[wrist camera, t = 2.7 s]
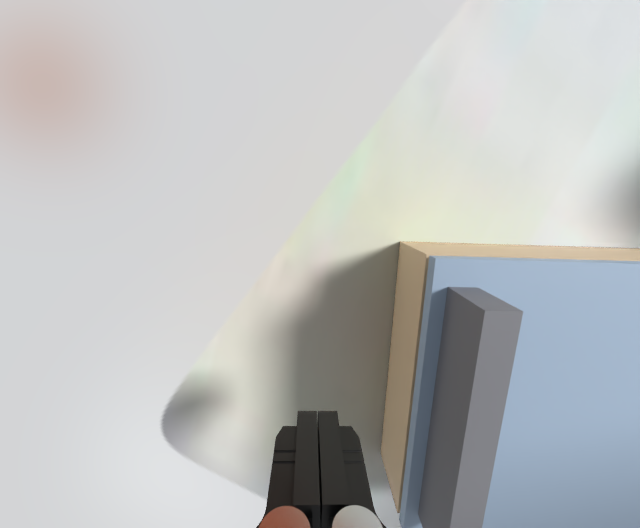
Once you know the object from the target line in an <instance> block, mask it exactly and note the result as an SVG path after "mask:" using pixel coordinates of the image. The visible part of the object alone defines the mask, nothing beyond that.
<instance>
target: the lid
mask: <svg viewBox="0 0 640 528" xmlns="http://www.w3.org/2000/svg"><path fill="white" fill-rule="evenodd" d="M399 520H400V524H401V527H402V528H640V261H614V260H577V259H540V258H503V257H466V256H429V264H428V273H427V281H426V290H425V299H424V308H423V316H422V325H421V334H420V342H419V351H418V360H417V369H416V377H415V386H414V395H413V404H412V412H411V421H410V430H409V438H408V447H407V456H406V465H405V473H404V482H403V491H402V500H401V508H400V517H399Z"/></svg>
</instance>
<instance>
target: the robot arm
mask: <svg viewBox="0 0 640 528" xmlns="http://www.w3.org/2000/svg"><path fill="white" fill-rule="evenodd" d="M256 528H386V527H385V526H384V525H383V524H382V522H381V521H380V520H379V518H378V516H377V515H376V512H375V510H374V506H373V502H372V497H371V492H370V488H369V483H368V478H367V473H366V468H365V464H364V459H363V454H362V449H361V445H360V440H359V437H358V435H357V434H356V432H355V431H354V430H353V428H352V427H351V426H339V422H338V415H337V411H318V420H317V411H298V417H297V426H283V427H282V429H281V430H280V432H279V433H278V435H277V437H276V441H275V448H274V456H273V464H272V470H271V477H270V485H269V492H268V499H267V507H266V511H265V514H264V517H263V519H262V521H261V522H260V524H259V525H258V526H257V527H256Z"/></svg>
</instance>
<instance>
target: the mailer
mask: <svg viewBox="0 0 640 528" xmlns="http://www.w3.org/2000/svg"><path fill="white" fill-rule="evenodd" d="M429 256H466V257H503V258H540V259H577V260H614V261H640V249H639V248H604V247H570V246H535V245H501V244H466V243H432V242H400V249H399V259H398V270H397V281H396V292H395V303H394V314H393V325H392V335H391V346H390V357H389V368H388V379H387V390H386V401H385V411H384V422H383V433H382V444H381V456H382V459H383V463H384V467H385V470H386V474H387V477H388V481H389V484H390V488H391V491H392V495H393V499H394V502H395V506H396V509H397V513H400V508H401V500H402V491H403V482H404V473H405V465H406V456H407V447H408V438H409V430H410V421H411V412H412V404H413V395H414V386H415V377H416V369H417V360H418V351H419V342H420V334H421V325H422V316H423V308H424V299H425V290H426V281H427V273H428V264H429Z"/></svg>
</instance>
